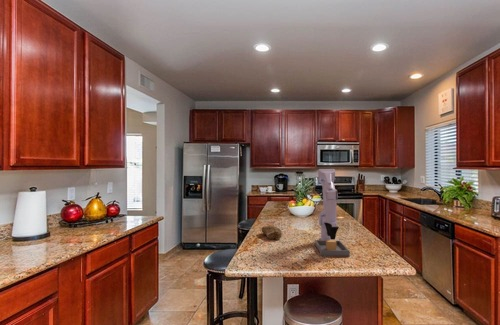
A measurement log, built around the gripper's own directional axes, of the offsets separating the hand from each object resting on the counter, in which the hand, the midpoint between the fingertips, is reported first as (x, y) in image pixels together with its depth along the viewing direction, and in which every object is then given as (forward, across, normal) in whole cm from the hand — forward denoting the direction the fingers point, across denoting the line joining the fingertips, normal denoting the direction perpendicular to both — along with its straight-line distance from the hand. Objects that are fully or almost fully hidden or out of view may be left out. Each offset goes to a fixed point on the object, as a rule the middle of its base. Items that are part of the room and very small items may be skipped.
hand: (331, 237), depth 157 cm
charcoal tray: (+7, 0, 0) cm, 7 cm away
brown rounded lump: (+8, -31, -32) cm, 45 cm away
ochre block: (+6, 0, 0) cm, 6 cm away
